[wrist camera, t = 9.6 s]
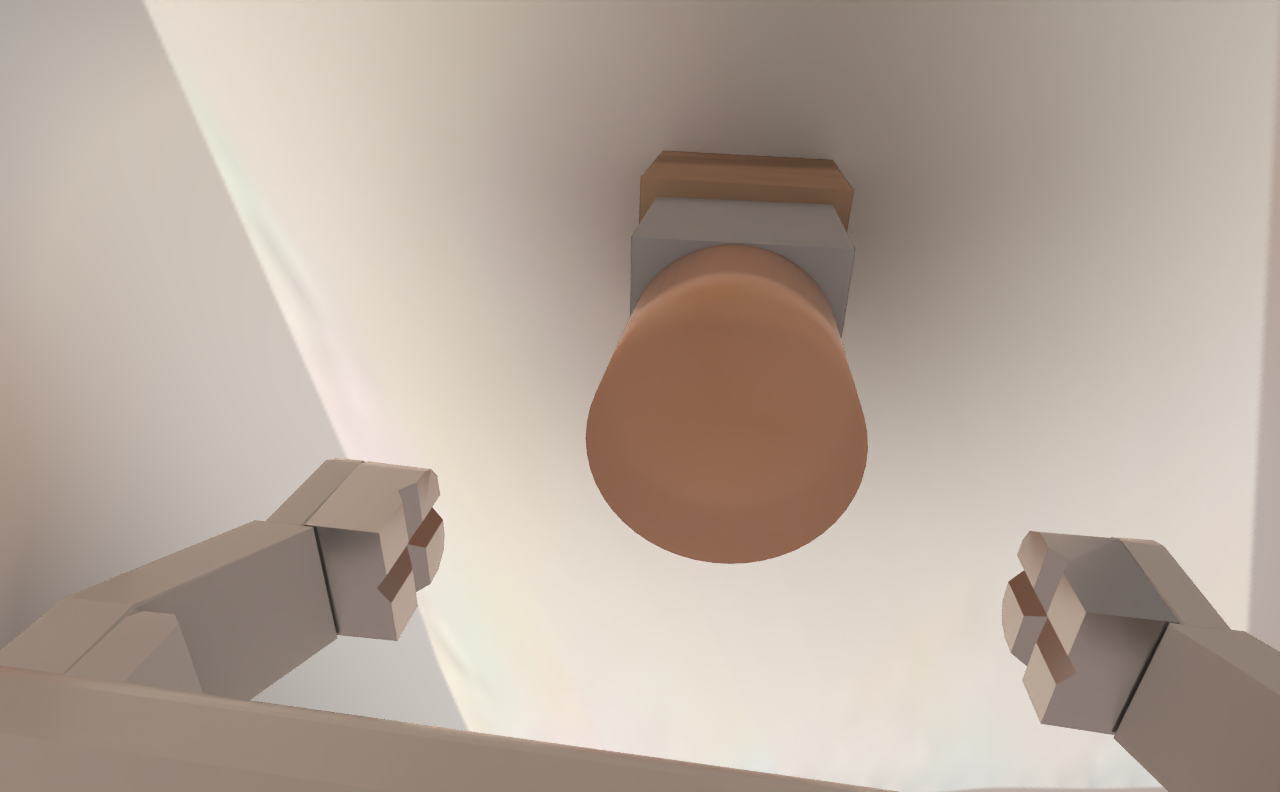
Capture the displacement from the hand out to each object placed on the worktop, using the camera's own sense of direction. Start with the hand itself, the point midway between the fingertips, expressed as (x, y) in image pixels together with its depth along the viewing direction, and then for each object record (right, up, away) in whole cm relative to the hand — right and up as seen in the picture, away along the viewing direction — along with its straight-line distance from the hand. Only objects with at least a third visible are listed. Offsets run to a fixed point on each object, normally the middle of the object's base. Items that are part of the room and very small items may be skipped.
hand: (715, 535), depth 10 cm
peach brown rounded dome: (+1, +3, +7) cm, 8 cm away
